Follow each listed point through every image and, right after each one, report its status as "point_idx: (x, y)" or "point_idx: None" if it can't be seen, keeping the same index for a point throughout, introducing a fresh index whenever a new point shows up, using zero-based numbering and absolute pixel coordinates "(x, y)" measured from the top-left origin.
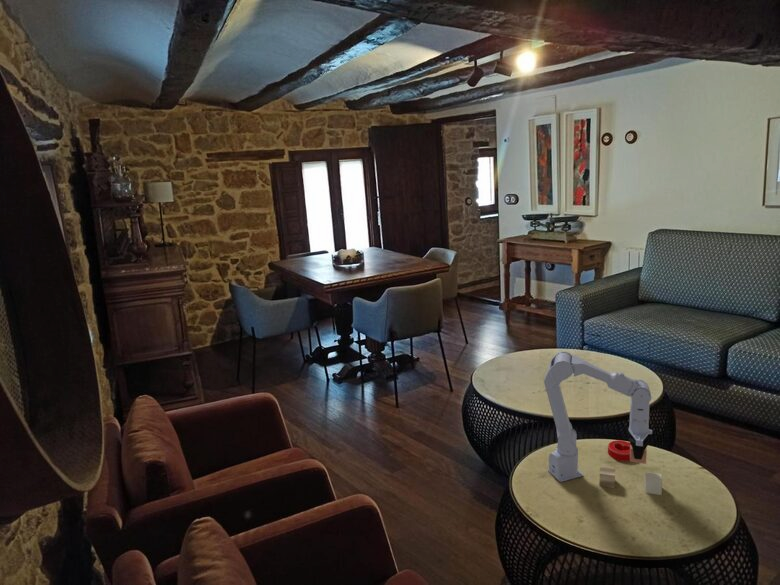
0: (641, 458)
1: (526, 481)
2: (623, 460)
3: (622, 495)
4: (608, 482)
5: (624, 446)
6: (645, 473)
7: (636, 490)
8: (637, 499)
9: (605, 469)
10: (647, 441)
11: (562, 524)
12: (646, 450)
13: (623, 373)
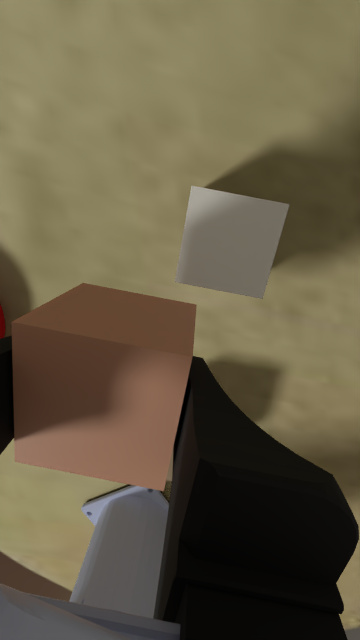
0: (205, 363)
1: None
2: (2, 319)
3: (271, 376)
4: None
5: None
6: (192, 284)
7: (233, 314)
8: (301, 325)
9: (172, 461)
10: (226, 487)
11: None
12: (183, 356)
13: None
